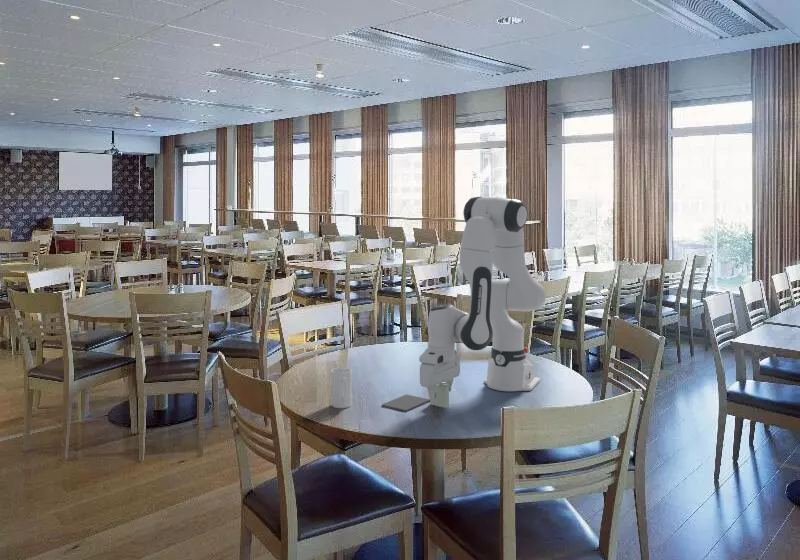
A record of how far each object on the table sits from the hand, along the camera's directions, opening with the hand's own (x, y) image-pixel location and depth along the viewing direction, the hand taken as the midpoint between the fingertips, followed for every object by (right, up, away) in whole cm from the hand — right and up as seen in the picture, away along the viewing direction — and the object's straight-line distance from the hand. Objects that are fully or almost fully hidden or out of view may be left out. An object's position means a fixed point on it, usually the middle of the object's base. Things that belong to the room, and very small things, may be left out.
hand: (440, 394), depth 228 cm
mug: (-32, -4, 0) cm, 32 cm away
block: (0, -4, +2) cm, 4 cm away
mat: (-11, -4, +3) cm, 12 cm away
